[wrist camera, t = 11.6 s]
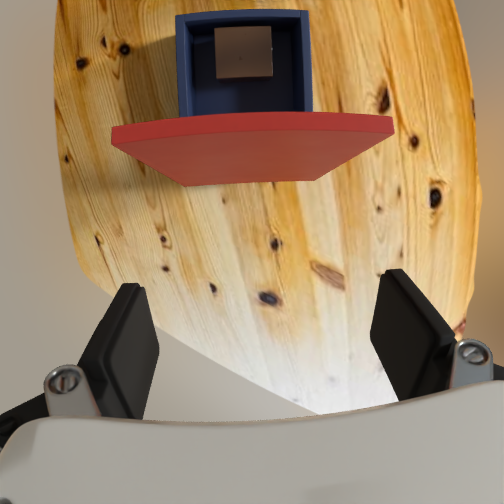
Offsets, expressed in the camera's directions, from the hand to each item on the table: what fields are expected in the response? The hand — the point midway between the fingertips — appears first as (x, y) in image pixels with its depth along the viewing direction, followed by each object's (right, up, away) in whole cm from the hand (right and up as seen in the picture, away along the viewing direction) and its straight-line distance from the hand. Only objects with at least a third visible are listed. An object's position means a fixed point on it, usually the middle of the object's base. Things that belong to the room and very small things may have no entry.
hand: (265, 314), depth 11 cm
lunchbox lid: (-1, +8, +9) cm, 12 cm away
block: (-1, +22, +18) cm, 28 cm away
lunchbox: (-1, +19, +20) cm, 27 cm away
